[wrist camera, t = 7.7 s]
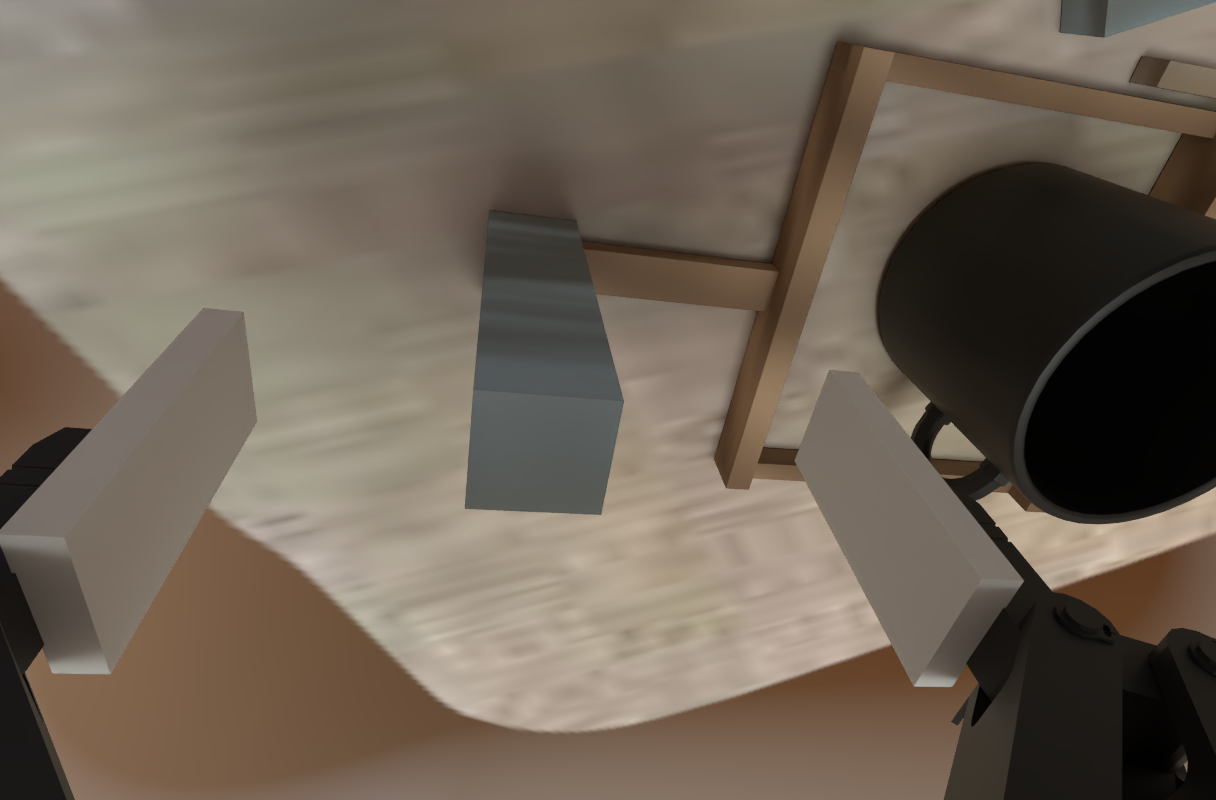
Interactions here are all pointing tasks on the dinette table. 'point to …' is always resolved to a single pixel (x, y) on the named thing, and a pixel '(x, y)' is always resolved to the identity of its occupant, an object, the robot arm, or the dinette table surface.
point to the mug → (1063, 340)
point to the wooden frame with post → (719, 295)
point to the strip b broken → (1120, 3)
